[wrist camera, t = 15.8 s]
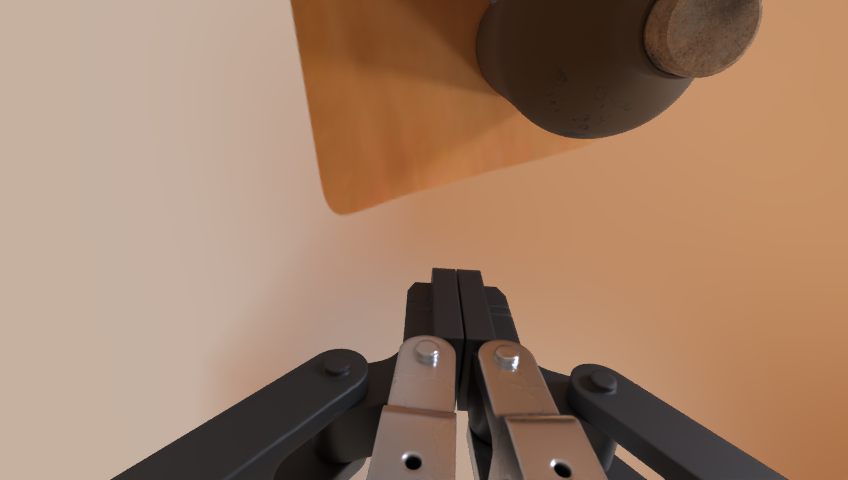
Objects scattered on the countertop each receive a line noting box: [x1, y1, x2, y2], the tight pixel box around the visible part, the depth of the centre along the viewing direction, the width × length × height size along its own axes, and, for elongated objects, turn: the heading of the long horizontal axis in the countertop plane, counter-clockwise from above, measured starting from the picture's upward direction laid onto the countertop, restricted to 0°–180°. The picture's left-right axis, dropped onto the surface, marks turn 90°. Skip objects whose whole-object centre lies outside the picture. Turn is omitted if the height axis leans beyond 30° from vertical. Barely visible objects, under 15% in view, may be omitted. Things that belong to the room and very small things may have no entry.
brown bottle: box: [476, 0, 762, 139], centre depth 25 cm, size 11×11×25 cm
